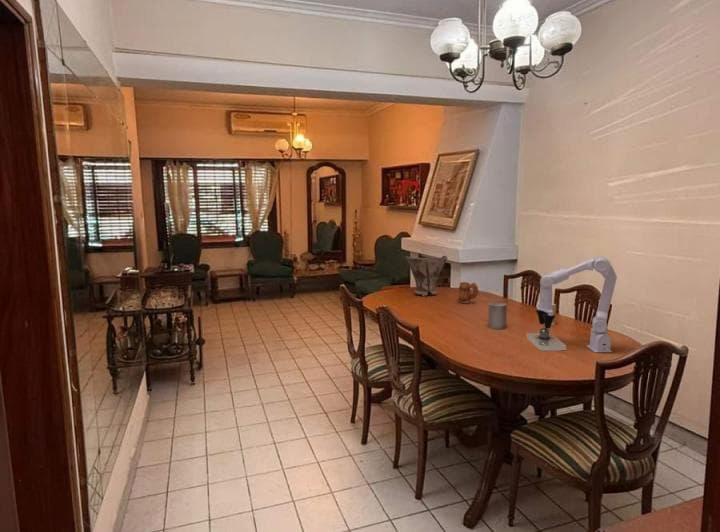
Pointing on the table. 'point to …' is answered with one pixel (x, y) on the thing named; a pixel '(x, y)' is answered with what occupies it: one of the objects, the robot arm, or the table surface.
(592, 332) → the robot arm
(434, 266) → the vessel
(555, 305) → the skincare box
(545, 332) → the bushing
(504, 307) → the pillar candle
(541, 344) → the plate
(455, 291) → the table surface
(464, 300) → the mug
